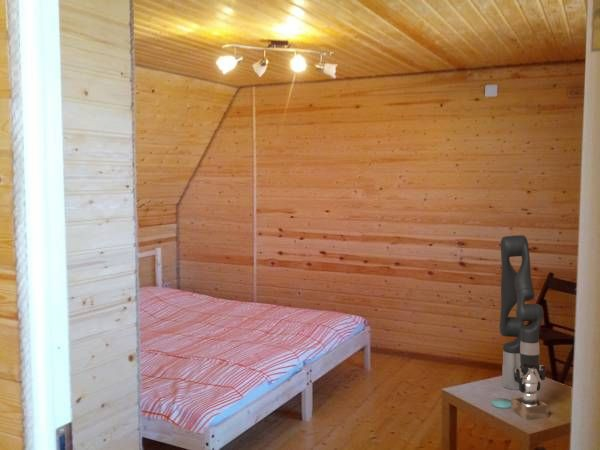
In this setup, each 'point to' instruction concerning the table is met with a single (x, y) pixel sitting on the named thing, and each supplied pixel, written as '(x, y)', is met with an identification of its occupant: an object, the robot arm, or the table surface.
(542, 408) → the walnut holder
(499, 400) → the teal coaster
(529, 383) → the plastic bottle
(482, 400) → the table surface
